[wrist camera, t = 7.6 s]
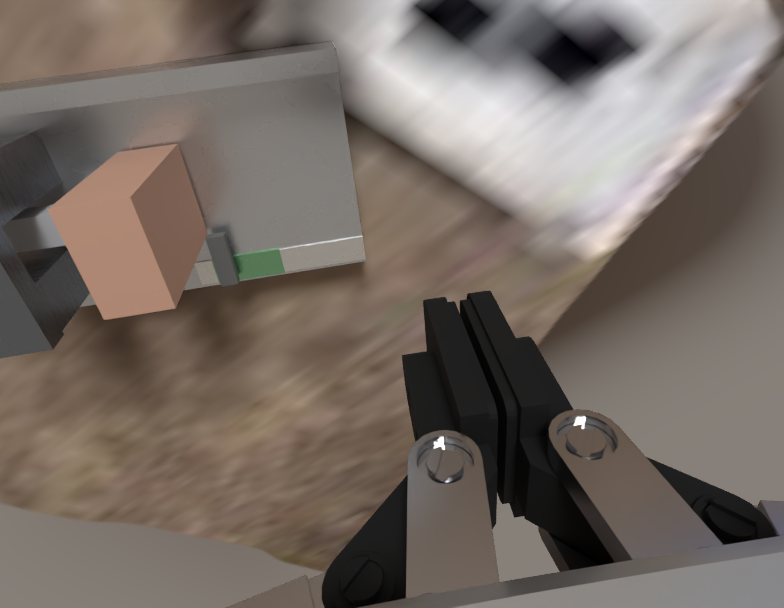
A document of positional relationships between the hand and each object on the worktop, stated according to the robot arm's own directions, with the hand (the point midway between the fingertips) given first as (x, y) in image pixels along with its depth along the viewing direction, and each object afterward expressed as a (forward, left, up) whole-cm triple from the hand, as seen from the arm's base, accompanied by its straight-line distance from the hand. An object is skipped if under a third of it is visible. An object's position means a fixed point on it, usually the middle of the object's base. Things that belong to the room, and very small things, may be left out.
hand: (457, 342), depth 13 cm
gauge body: (+10, 0, -20) cm, 22 cm away
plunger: (+17, +2, -17) cm, 24 cm away
